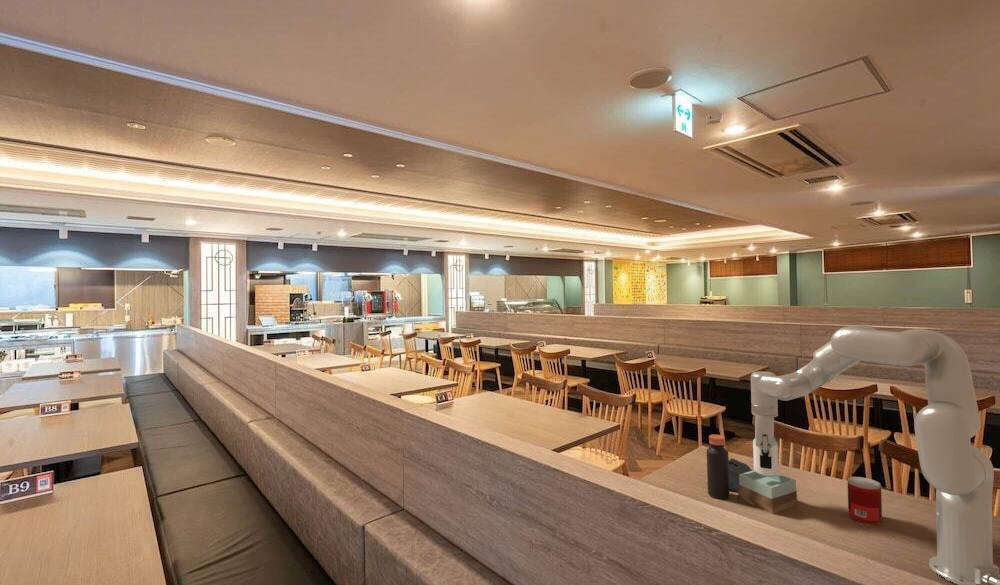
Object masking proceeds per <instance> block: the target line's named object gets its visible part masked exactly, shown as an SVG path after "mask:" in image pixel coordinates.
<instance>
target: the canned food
mask: <svg viewBox="0 0 1000 585" xmlns="http://www.w3.org/2000/svg"><path fill="white" fill-rule="evenodd" d="M882 496H883V495H882V484H881V483H880V482H878V481H876V480H875V479H871V478H867V477H863V476H862V477H861V476H851V477H848V478H847V508H848V514H849V516H850V517H851V518H852V519H854V520H856V521H859V522H861V523H864V524H872V525H876V524H880V523H881V522H882V520H883V507H882V505H883V503H882V501H883V500H882Z"/></svg>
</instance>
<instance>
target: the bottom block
mask: <svg viewBox="0 0 1000 585" xmlns="http://www.w3.org/2000/svg"><path fill="white" fill-rule="evenodd" d="M797 492H798V490H796V491H795V492H792V493H789V494H786V495H782V496H779V497H776V498H773V499H771V498H769V497H766V496H764V495H762V494H759V493H757V492H755V491H752V490H750V489H748V488H745V487H743V486H741V485H738V493H737V495H738V500H741V501H742V502H745V503H747V504H750V505H752V506H754V507H757V508H758V509H761V510H763V511H765V512H768V513H770V514H772V515H773V514H776V513H779V512H782V511H785V510H787V509H790V508H792V507H796V506H797V505H798V493H797Z"/></svg>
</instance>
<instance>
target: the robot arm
mask: <svg viewBox="0 0 1000 585" xmlns="http://www.w3.org/2000/svg"><path fill="white" fill-rule="evenodd" d="M812 357H813V359H812V360H811V361H810V362H808V363H807V364H805V365H804V366H803V367H800V368H799V369H798V370H796V371H794V372H791V373H787V374H783V375H776V374H775V373H773V372H770V371H754V372H752V373H751V374H750V393H751V394H750V400H751V401H750V402H751V406H750V407H751V408H750V409H751V414H752V415H753V416H754V432H755V433H754V437H755V438H754V439H755V444H756V446H760V445H761V446H760V447H761V455H760V467H761V468H767V469H772V461H771V456H770V447H771V448H772V447H773V438H775V436H774V434H775V427H774V426H775V421H774V420H775V418H776V417H778V416H779V410H778V408H779V405H778V400H780V401H786V402H787V401H791V400H794V399H797V398H800V397H804V396H807V395H808V394H811V393H812V392H814V391H816V390H818V389H819V388H821V387H823V386H824V385H826V384H827V383H829V382H830V381H832V380H833V379H835V378H836V377H838V376H839V375H840V374H842V373H844V372H845V371H847V370H848V369H850V368H851V367H853V366H855V365H856V364H858V363H860V362H867V363H874V364H880V365H886V366H893V367H912V366H916V365H919V364H922V365H923V367H924V369H925V372H924V375H925V376H924V383H925V388H926V393H927V394H926V395H927V405H926V406H924V407H922V408H921V409H920V410H919V411H918V412H917V414H916V416H915V419H914V433H915V439H916V447H917V454H918V459H919V461H918V462H919V466H920V470H921V473H922V475H923V477H924V479H925V480H926V481H927V482H928V484H929V485H931V487H933V488H934V489H935V518H936V520H935V521H936V526H935V527H936V555H935V556H931V557H930V558H929V560H928V565H929V568H930V570H932V571H933V572H934V573H935V574H936V573H937V574H938V576H939V575H941V576H942V577H944V578H945V579H944V578H943V579H944V580H946V581H947V582H950V581H951V583H952V582H953V584H954V585H976V584H983V583H986V584H988V585H1000V567H999V566H998V565H995V564H994V558H993V557H994V554H993V553H994V552H993V550H994V549H993V524H992V523H993V521H992V520H993V499H992V498H993V487H994V479H995V476H994V475H995V472H994V470H995V469H994V466H993V463H992V461H991V459H990V458H989V456H988V455H987V454H986V453H985V452H984V451H982V449H980V448H978V447H976V446H974V445H972V443H971V441H972V440H971V438H973V437H975V436H976V435H977V434H978V433H979V431H981V430H980V429H981V427H982V423H981V416H980V413H979V408H978V401H977V396H976V391H975V390H976V389H975V386H974V382H973V375H972V370H971V365H970V362H969V359H968V356H967V353H966V352H965V351H964V350H963V348H962V347H961V346H960V345H959V344H958V343H957V342H956V341H955V340H954V339H952V338H951V337H949V336H947V335H945V334H943V333H941V332H937V331H934V330H930V329H924V328H913V329H906V330H903V331H888V330H877V329H876V328H875V327H872V326H870V325H868V324H854V325H849V326H848V325H847V326H843V327H841V328H839V329H837V330H836V331H835V332H834V333H832V335H831V338H830V341H828V342H827V343H825V344H824V345H822V346H821V347H819V348H817V349H816V350H815V351H814V352H813V354H812ZM767 435H768V440H767ZM762 443H763V446H762ZM767 444H769V446H767ZM762 448H763V449H762ZM767 448H768V450H767ZM768 453H769V454H768ZM768 455H769V456H768ZM937 574H936V575H937ZM941 576H940V577H941ZM942 577H941V578H942Z"/></svg>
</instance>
